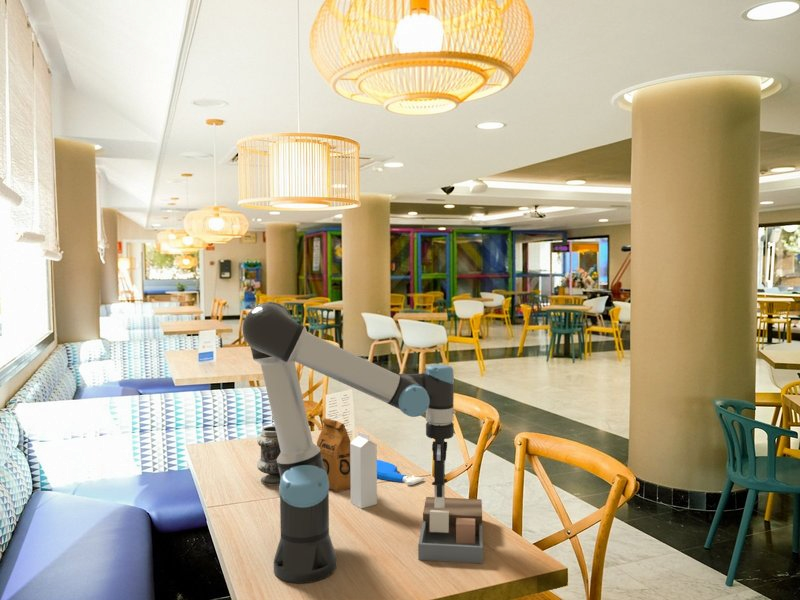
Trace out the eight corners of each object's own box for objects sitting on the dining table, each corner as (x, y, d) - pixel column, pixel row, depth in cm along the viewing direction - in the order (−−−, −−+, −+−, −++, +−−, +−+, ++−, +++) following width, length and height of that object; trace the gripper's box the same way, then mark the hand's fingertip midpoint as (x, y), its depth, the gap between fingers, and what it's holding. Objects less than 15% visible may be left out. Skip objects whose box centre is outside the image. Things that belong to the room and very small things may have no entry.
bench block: (482, 538, 163) (482, 516, 163) (422, 535, 165) (422, 513, 164) (481, 519, 175) (481, 499, 174) (426, 517, 177) (426, 496, 176)
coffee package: (333, 494, 194) (332, 427, 193) (313, 483, 204) (312, 419, 203) (358, 487, 201) (358, 422, 199) (338, 477, 210) (337, 415, 209)
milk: (361, 509, 183) (360, 437, 181) (350, 502, 188) (349, 432, 186) (377, 504, 186) (376, 433, 185) (366, 498, 191) (366, 429, 190)
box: (482, 563, 149) (483, 547, 149) (418, 559, 151) (418, 544, 151) (482, 538, 163) (482, 523, 163) (422, 535, 165) (422, 520, 165)
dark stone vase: (290, 472, 216) (289, 422, 215) (295, 483, 204) (294, 431, 203) (255, 476, 212) (254, 425, 211) (259, 488, 200) (258, 434, 199)
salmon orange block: (475, 536, 163) (475, 543, 159) (456, 535, 163) (455, 542, 159) (475, 518, 162) (475, 524, 158) (456, 517, 163) (456, 524, 159)
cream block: (449, 530, 163) (448, 532, 159) (430, 529, 163) (429, 531, 159) (449, 510, 164) (448, 512, 160) (430, 509, 164) (429, 511, 160)
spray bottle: (355, 464, 216) (406, 482, 199) (376, 457, 224) (427, 473, 207) (355, 472, 216) (406, 490, 200) (376, 465, 224) (427, 482, 208)
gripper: (452, 428, 157) (452, 517, 159) (454, 416, 170) (453, 498, 172) (424, 427, 158) (424, 516, 160) (427, 415, 171) (427, 497, 172)
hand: (439, 506), depth 166 cm, fingers closed
